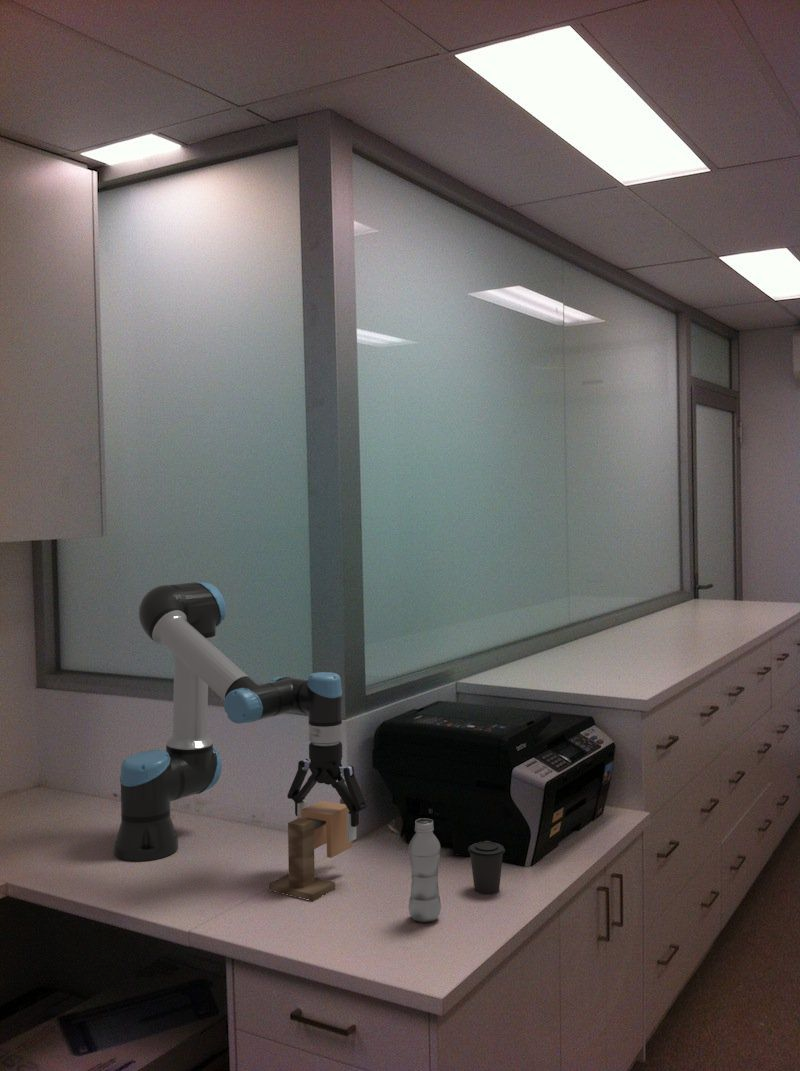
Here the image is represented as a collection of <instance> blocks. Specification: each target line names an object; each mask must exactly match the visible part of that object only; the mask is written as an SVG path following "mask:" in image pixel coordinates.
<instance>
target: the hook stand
mask: <svg viewBox="0 0 800 1071" xmlns="http://www.w3.org/2000/svg"><path fill="white" fill-rule="evenodd" d="M339 803H340V804H345V803H344V802H343V800H342V798H341V797H340V798H339ZM325 824H326V821H322V820H317V819H314V820H308V819H303V818H298V819H297V818H295V819H293V820H291V821H289V822H288V823H287V833H288V834H287V839H288V840H287V841H288V842H287V845H288V846H287V848H288V853H287V855H288V873H286V874H285V875H283V876H281V877H279V878H277V879H275V880H274V881H271V882H270V883H268V891H269V890H271V891H270V892H272V891H276V892H279V893H278V894H280V893H284V894H288V895H292V896H291V897H293V896H296V897H295V898H297V897H301V898H305V899H309V900H312V901H311V902H315V901H317V900H319V899H320V898H322V897H323V896H322V895H324V896H325V895H327V894H329V893H330V891H331V892H333V890H334V891H335V889H336V882H335V881H331V880H329V879H328V880H327V879H322V878H318V877H315V875H316V873H315V849H314V830H315V829H317V828H319V827H321V826H323V825H325ZM276 892H275V893H276ZM328 892H329V893H328ZM326 893H327V894H326ZM284 894H283V895H284ZM288 895H287V896H288ZM321 896H322V897H321ZM319 897H320V898H319ZM301 898H300V899H301ZM305 899H304V900H305ZM316 899H317V900H316ZM309 900H308V901H309ZM314 900H315V901H314Z"/></svg>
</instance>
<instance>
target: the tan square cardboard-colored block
mask: <svg viewBox="0 0 800 1071" xmlns="http://www.w3.org/2000/svg"><path fill="white" fill-rule="evenodd" d="M347 812H349V809H348V808H347V806H346V805H345V804H340V802H333V801H327V800H326V801H325V800H320V801H318V802H316V803H314V804H312V805H309V806H307V808H304V809H302V810H301V818H303V819H308V820H314V819H317V820H322V821H326V824H325V825H323V826H321V827H319V828H317V829H315V830H314V850H316V849H318V848H319V847H321V846H324V845H326V857H327V858H330V859H333V858H334V857H335V856H336V857H337V856H338V855H340V854H341V853H343V852H345V851H347V850H349V849H350V848H352V847H353V841H351V842H347V817H346V813H347Z"/></svg>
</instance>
